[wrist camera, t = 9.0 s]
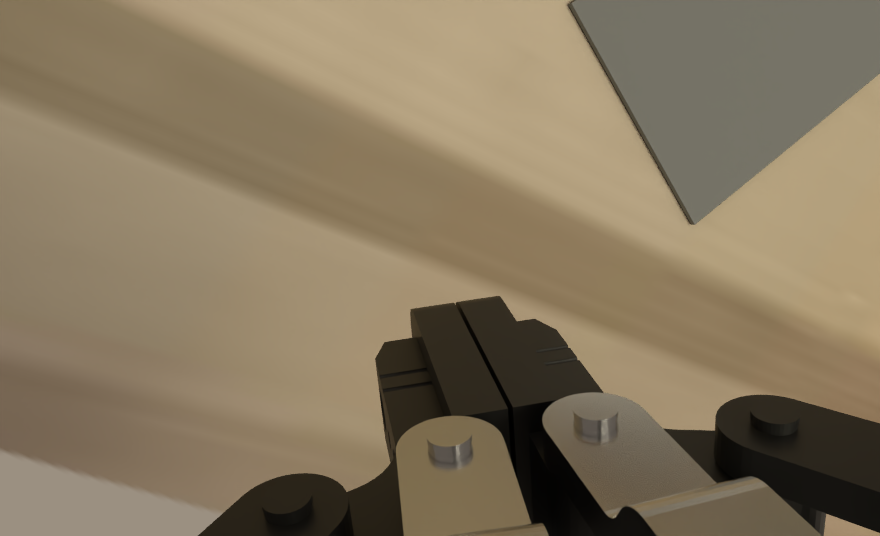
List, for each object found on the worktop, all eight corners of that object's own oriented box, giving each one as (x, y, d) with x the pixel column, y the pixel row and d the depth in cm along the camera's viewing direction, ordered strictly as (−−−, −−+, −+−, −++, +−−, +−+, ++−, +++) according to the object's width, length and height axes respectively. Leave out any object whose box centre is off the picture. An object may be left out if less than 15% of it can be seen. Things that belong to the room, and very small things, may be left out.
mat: (691, 224, 39) (695, 224, 38) (568, 4, 35) (571, 3, 35) (933, 26, 42) (939, 25, 42) (842, -190, 39) (847, -193, 39)
